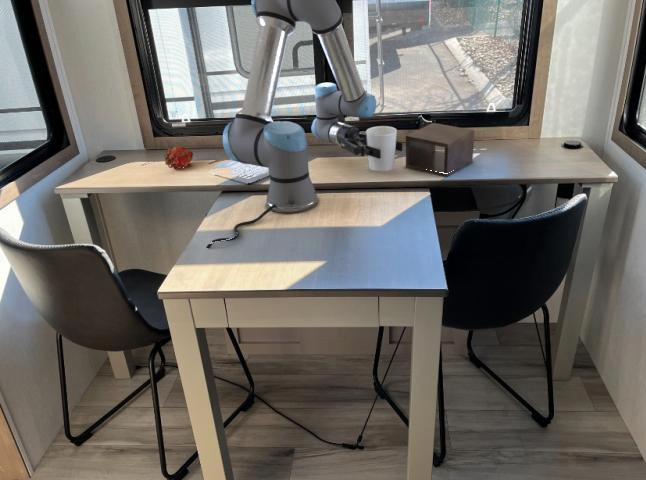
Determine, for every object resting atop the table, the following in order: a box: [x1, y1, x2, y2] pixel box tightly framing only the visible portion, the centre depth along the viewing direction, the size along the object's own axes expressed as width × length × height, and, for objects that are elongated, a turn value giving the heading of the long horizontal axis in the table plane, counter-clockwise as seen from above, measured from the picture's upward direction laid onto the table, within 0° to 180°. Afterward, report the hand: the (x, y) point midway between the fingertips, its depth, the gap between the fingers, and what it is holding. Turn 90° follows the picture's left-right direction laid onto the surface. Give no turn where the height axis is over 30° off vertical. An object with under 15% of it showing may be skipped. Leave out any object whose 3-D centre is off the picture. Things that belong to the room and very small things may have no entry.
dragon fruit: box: [164, 144, 194, 170], centre depth 209 cm, size 8×8×12 cm
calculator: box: [209, 159, 270, 181], centre depth 202 cm, size 13×20×2 cm, turn 51°
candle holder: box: [365, 125, 398, 172], centre depth 191 cm, size 10×10×12 cm
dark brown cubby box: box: [405, 122, 476, 178], centre depth 195 cm, size 16×16×11 cm
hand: (390, 150), depth 188 cm, fingers closed on candle holder, 9 cm apart
